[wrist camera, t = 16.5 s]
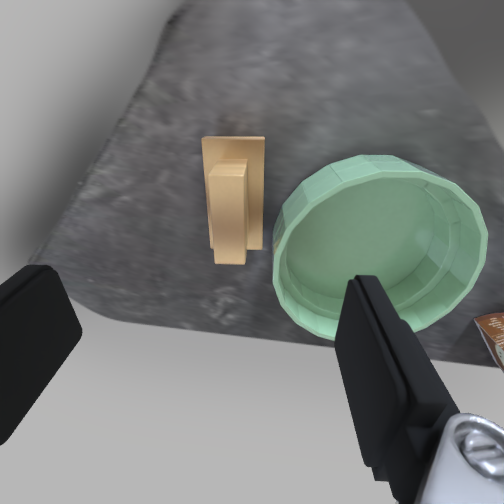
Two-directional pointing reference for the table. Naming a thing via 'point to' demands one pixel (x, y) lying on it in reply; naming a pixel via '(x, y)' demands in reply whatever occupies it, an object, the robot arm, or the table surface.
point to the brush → (234, 195)
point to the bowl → (376, 241)
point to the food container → (493, 335)
